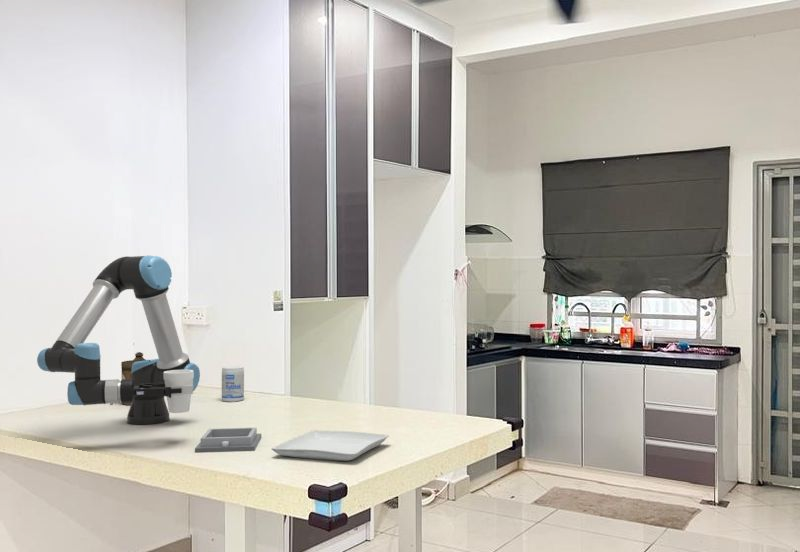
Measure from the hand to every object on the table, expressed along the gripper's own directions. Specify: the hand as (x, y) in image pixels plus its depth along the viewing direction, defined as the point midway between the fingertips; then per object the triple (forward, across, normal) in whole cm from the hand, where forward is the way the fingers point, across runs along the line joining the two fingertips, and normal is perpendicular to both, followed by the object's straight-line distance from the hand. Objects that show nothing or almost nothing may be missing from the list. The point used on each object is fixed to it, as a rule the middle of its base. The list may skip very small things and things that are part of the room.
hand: (192, 387), depth 248 cm
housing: (+11, +9, -18) cm, 23 cm away
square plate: (+41, +28, -18) cm, 53 cm away
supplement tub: (+15, -83, -18) cm, 86 cm away
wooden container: (-24, -90, -18) cm, 95 cm away
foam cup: (-4, 0, -8) cm, 9 cm away
